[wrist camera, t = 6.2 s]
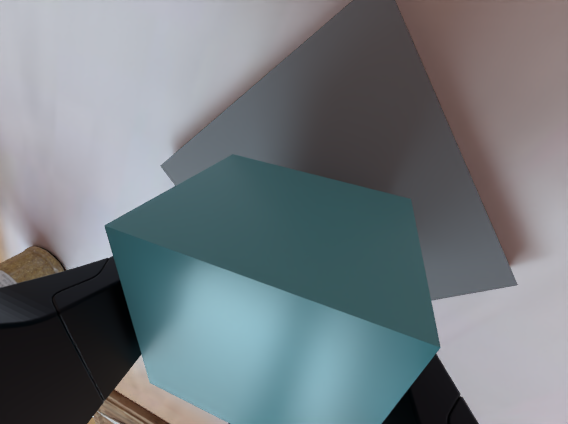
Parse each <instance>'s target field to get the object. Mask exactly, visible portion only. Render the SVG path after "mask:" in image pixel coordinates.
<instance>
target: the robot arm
mask: <svg viewBox="0 0 568 424" xmlns="http://www.w3.org/2000/svg"><path fill="white" fill-rule="evenodd" d="M140 355H141V350H140V347H139V343H138V340H137V337H136V333H135V330H134V326H133V323H132V319H131V316H130V312H129V309H128V305H127V302H126V298H125V295H124V291H123V288H122V285H121V281H120V278H119V274H118V271H117V267H116V264H115V260H114V257H113V256H112V257H110V258H106V259H103V260H100V261H96V262H93V263H90V264H87V265H83V266H80V267H77V268H73V269H69V270H66V271H62V272H58V273H55V274H51V275H47V276H43V277H39V278H36V279H32V280H28V281H24V282H20V283H16V284H12V285H9V286H5V287H0V424H87V423H88V422H89V421H90V420H91V418H92V417H93V416H94V414H95V413H96V412H97V411H98V409H99V408H100V407H101V405H102V404H103V403H104V401H105V400H106V399H107V398H108V396H109V395H110V394H111V392H112V391H113V390H114V389H115V387H116V386H117V385H118V384H119V382H120V381H121V380H122V378H123V377H124V376H125V375H126V373H127V372H128V371H129V370H130V368H131V367H132V366H133V364H134V363H135V362H136V361H137V359H138V358H139V357H140ZM459 396H460V392H459V391H458V389H457V387H456V386H455V384H454V382H453V381H452V379H451V377H450V376H449V374H448V372H447V371H446V369H445V368H444V366H443V364H442V363H441V361H440V359H439V358H438V356H437V354H435V355H434V357H433V358H432V359H431V360H430V362H429V363H428V364H427V366H426V367H425V368H424V370H423V371H422V372H421V373H420V375H419V376H418V377H417V379H416V380H415V381H414V382H413V384H412V385H411V386H410V388H409V389H408V390H407V391H406V393H405V394H404V395H403V397H402V398H401V399H400V401H399V402H398V403H397V404H396V406H395V407H394V408H393V410H392V411H391V412H390V413H389V415H388V416H387V417H386V419H385V420H384V421H383V423H382V424H479V423H478V422H477V420H476V418H475V417H474V415H473V414H472V412H471V410H470V409H469V407H468V405H467V404H466V402H465V400H464V399H463V397H461V396H460V397H459ZM229 424H230V423H229Z"/></svg>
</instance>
